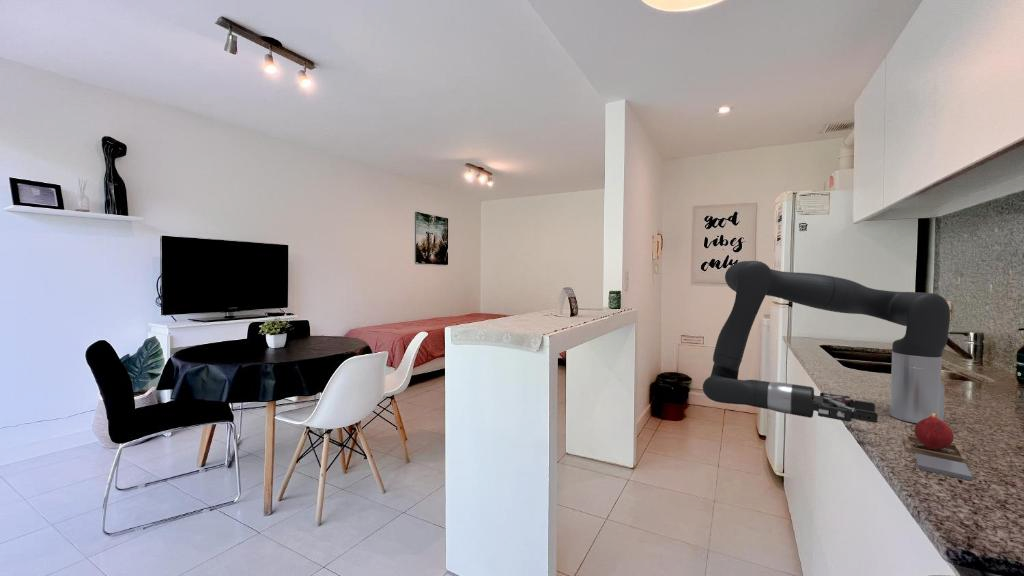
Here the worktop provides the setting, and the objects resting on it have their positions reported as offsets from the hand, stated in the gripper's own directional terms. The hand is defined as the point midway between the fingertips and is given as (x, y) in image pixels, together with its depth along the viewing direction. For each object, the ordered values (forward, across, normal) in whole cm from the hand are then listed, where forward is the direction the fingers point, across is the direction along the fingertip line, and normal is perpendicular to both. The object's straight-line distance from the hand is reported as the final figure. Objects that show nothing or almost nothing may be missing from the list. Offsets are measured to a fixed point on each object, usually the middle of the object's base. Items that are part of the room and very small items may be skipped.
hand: (876, 412), depth 93 cm
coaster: (+9, -10, +6) cm, 15 cm away
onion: (+9, 0, +6) cm, 11 cm away
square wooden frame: (+9, 0, +6) cm, 11 cm away
